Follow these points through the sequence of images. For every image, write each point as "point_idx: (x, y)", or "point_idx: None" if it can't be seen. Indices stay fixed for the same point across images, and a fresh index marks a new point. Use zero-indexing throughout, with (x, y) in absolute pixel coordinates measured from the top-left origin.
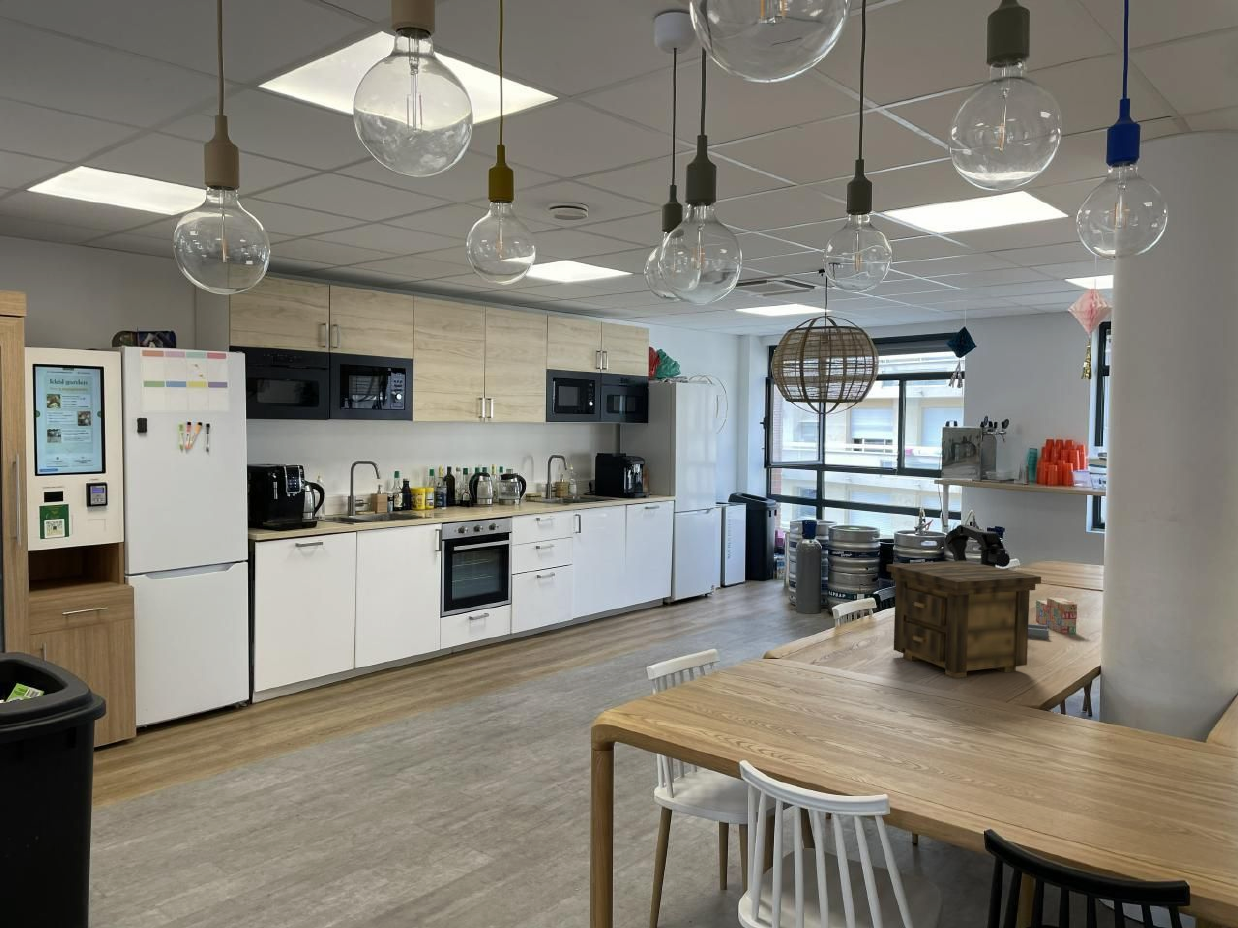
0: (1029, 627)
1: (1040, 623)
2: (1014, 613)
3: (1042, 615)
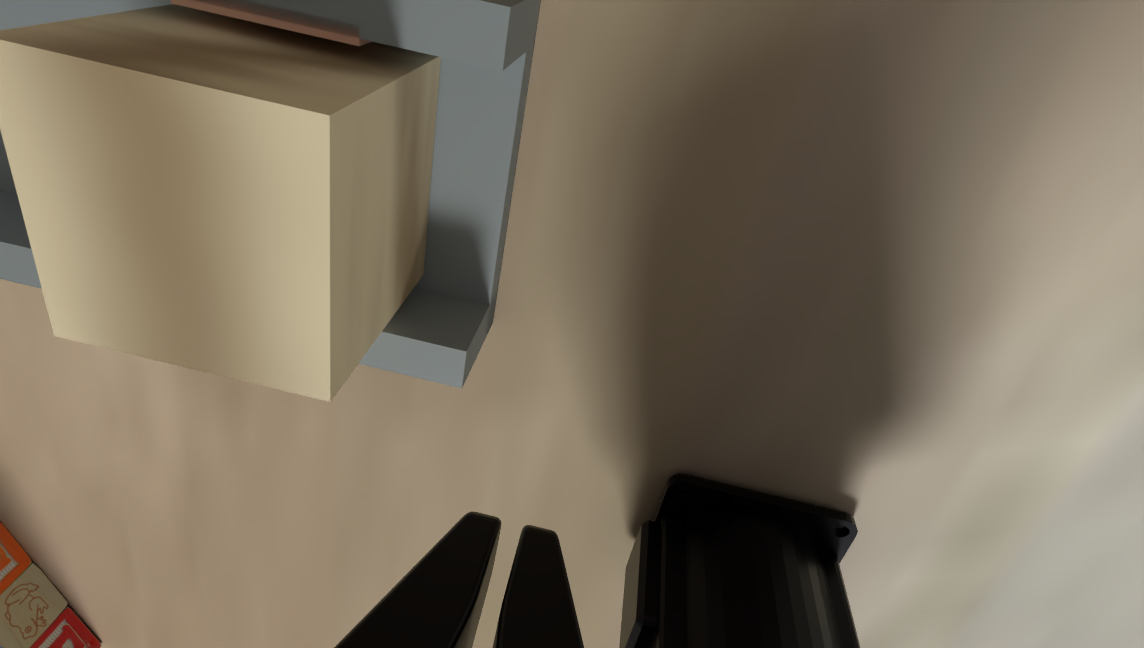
0: (1, 213)
1: (55, 588)
2: None
3: None
